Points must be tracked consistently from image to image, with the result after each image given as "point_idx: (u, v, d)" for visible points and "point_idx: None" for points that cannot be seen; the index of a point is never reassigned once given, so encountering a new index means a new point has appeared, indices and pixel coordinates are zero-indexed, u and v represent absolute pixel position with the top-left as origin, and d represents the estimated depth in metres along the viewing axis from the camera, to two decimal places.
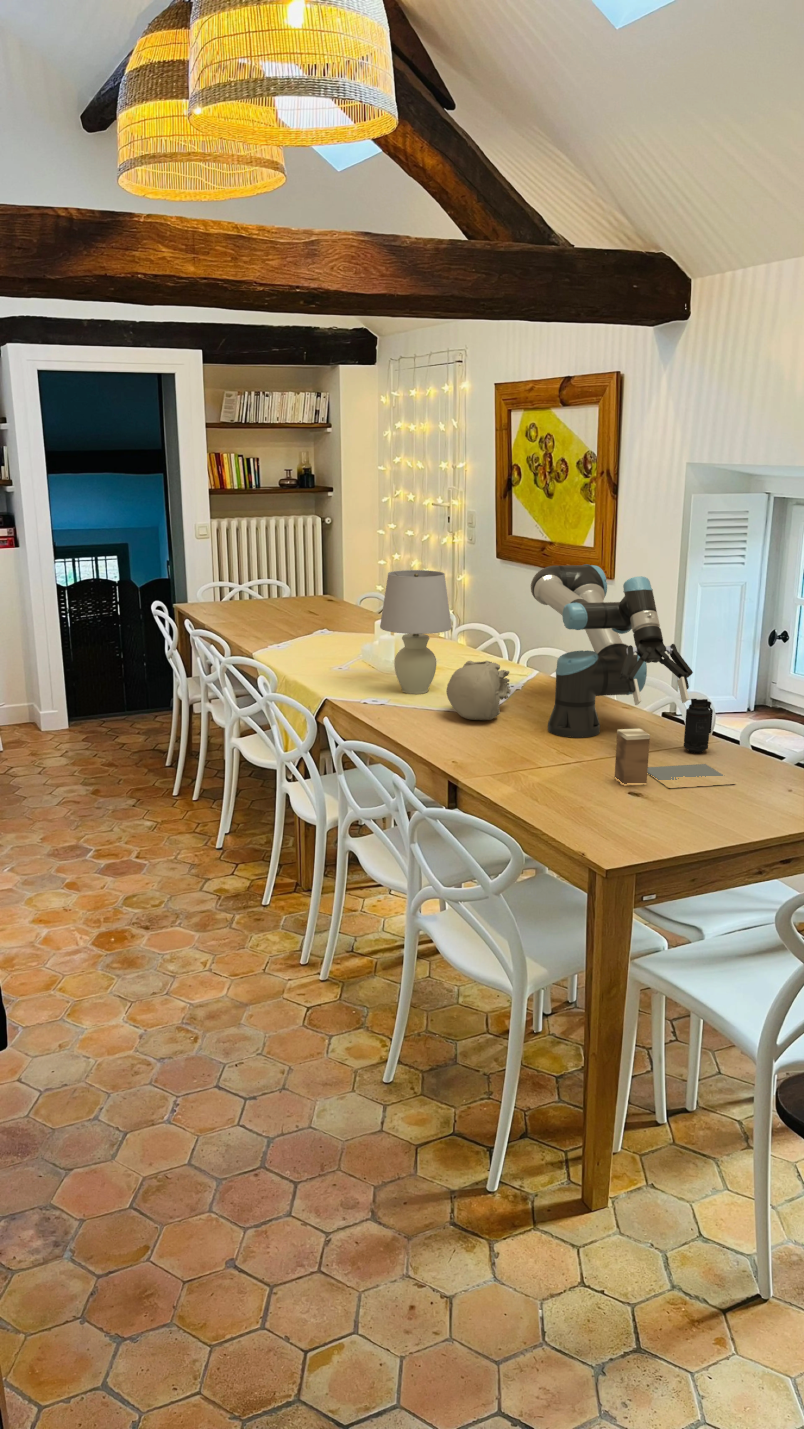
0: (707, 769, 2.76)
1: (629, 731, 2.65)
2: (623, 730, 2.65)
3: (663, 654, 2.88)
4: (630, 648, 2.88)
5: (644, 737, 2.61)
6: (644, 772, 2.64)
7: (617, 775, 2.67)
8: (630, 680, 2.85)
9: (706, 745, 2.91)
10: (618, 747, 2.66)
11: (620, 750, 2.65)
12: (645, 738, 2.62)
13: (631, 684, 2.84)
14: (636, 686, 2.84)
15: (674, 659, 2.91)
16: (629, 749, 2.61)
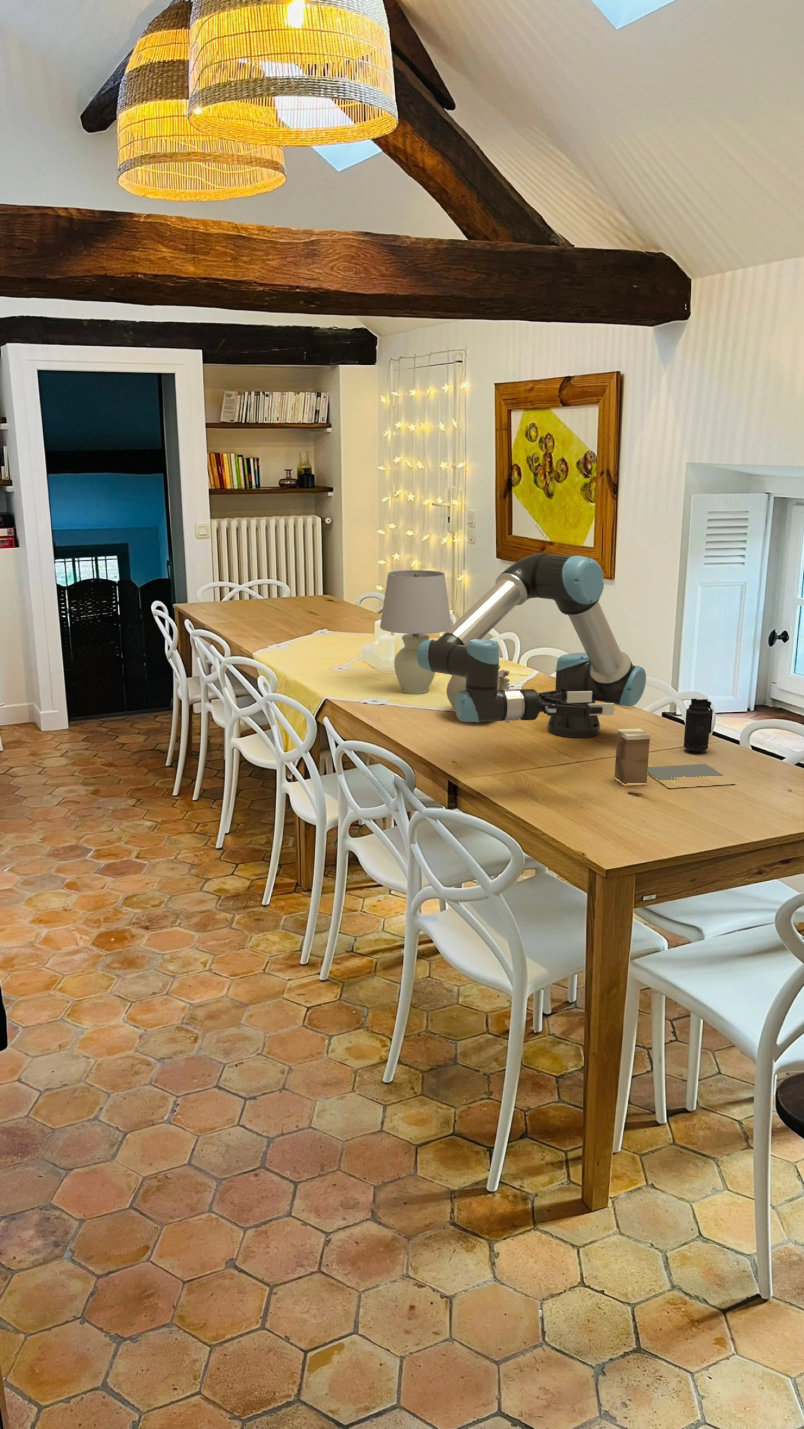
0: (707, 769, 2.76)
1: (629, 731, 2.64)
2: (623, 730, 2.65)
3: None
4: None
5: (644, 737, 2.61)
6: (644, 772, 2.64)
7: (617, 775, 2.67)
8: None
9: (706, 745, 2.91)
10: (618, 747, 2.66)
11: (620, 750, 2.65)
12: (645, 738, 2.62)
13: None
14: None
15: None
16: (629, 749, 2.61)
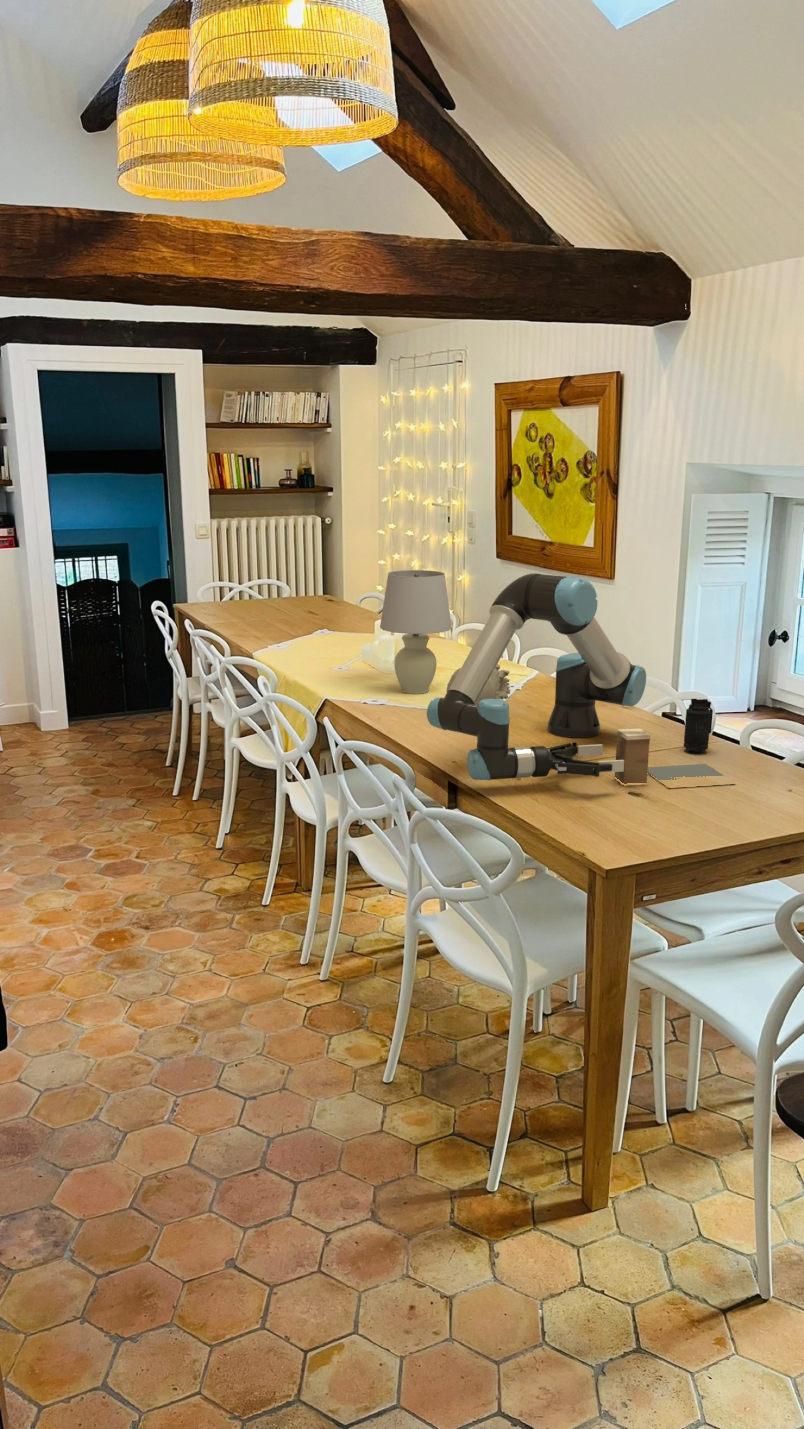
0: (707, 769, 2.76)
1: (629, 731, 2.65)
2: (623, 730, 2.65)
3: None
4: None
5: (644, 737, 2.61)
6: (644, 772, 2.64)
7: (617, 775, 2.67)
8: None
9: (706, 745, 2.91)
10: (618, 747, 2.66)
11: (620, 750, 2.65)
12: (645, 738, 2.62)
13: None
14: None
15: None
16: (629, 749, 2.61)
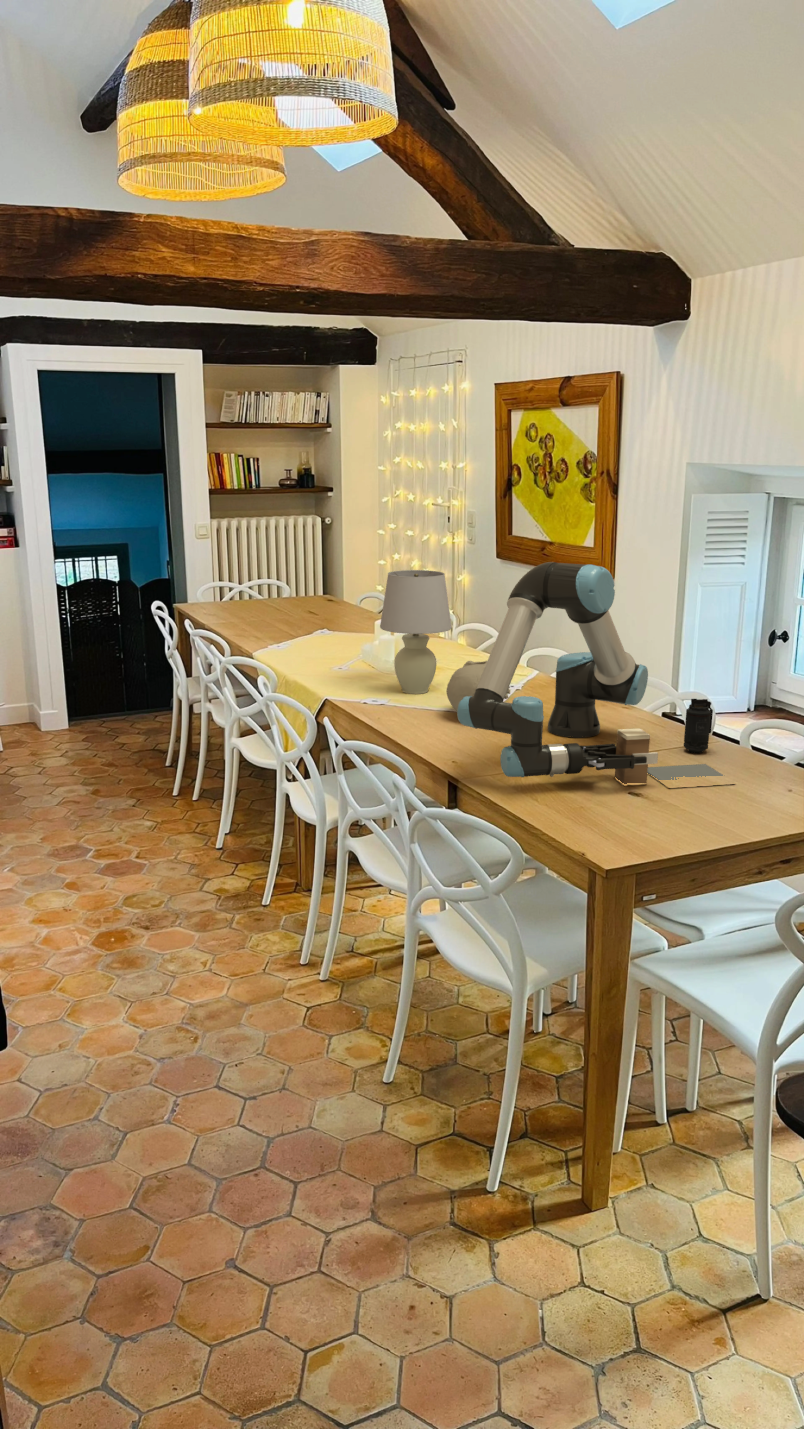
0: (707, 769, 2.76)
1: (629, 731, 2.64)
2: (623, 730, 2.65)
3: None
4: None
5: (644, 737, 2.61)
6: (644, 772, 2.64)
7: (617, 775, 2.67)
8: None
9: (706, 745, 2.91)
10: (618, 747, 2.66)
11: (620, 750, 2.65)
12: (645, 738, 2.62)
13: None
14: None
15: None
16: (629, 749, 2.61)
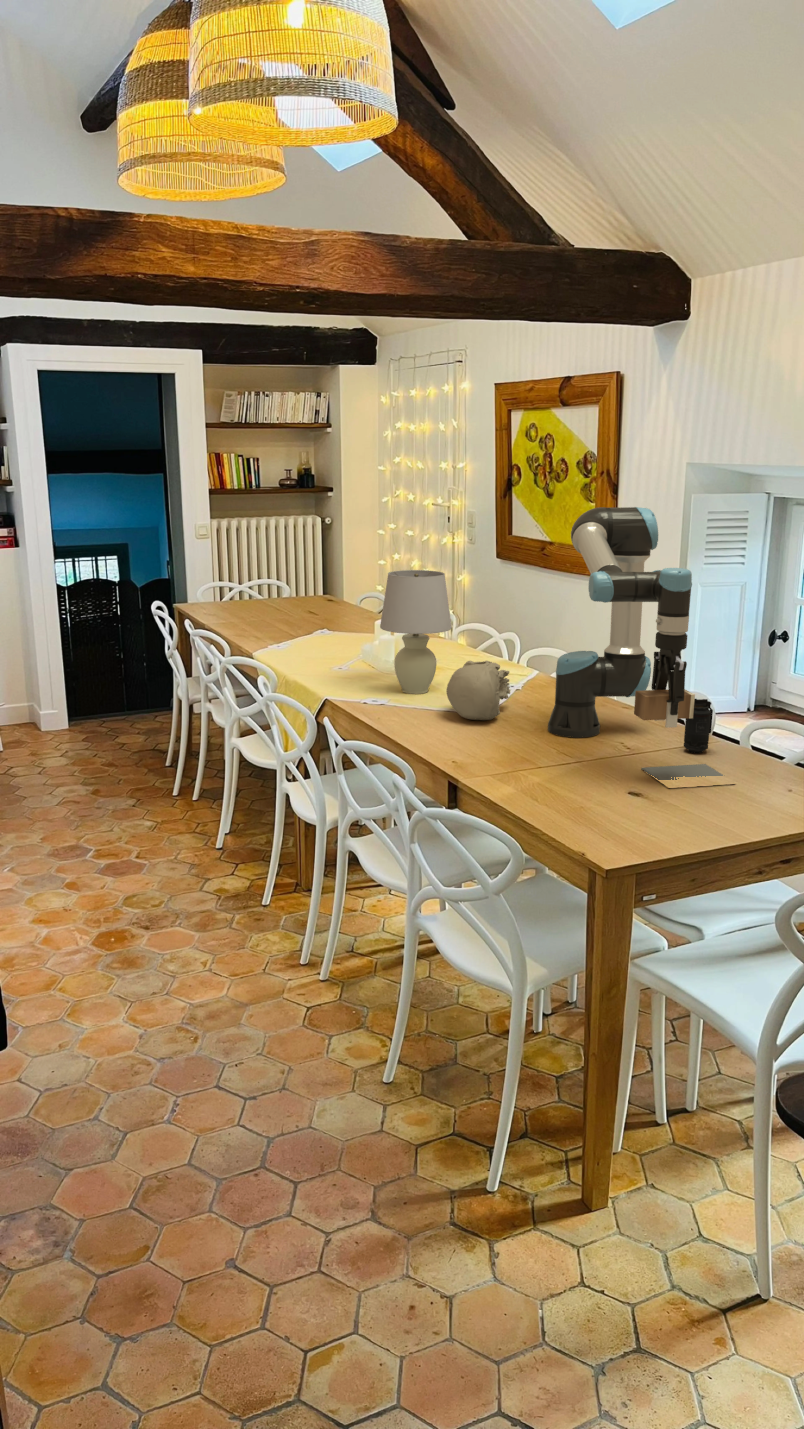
0: (707, 769, 2.76)
1: None
2: None
3: (666, 667, 2.60)
4: (654, 655, 2.68)
5: (691, 712, 2.63)
6: (656, 716, 2.62)
7: (644, 692, 2.64)
8: None
9: (706, 745, 2.91)
10: None
11: None
12: (690, 713, 2.63)
13: None
14: None
15: None
16: None
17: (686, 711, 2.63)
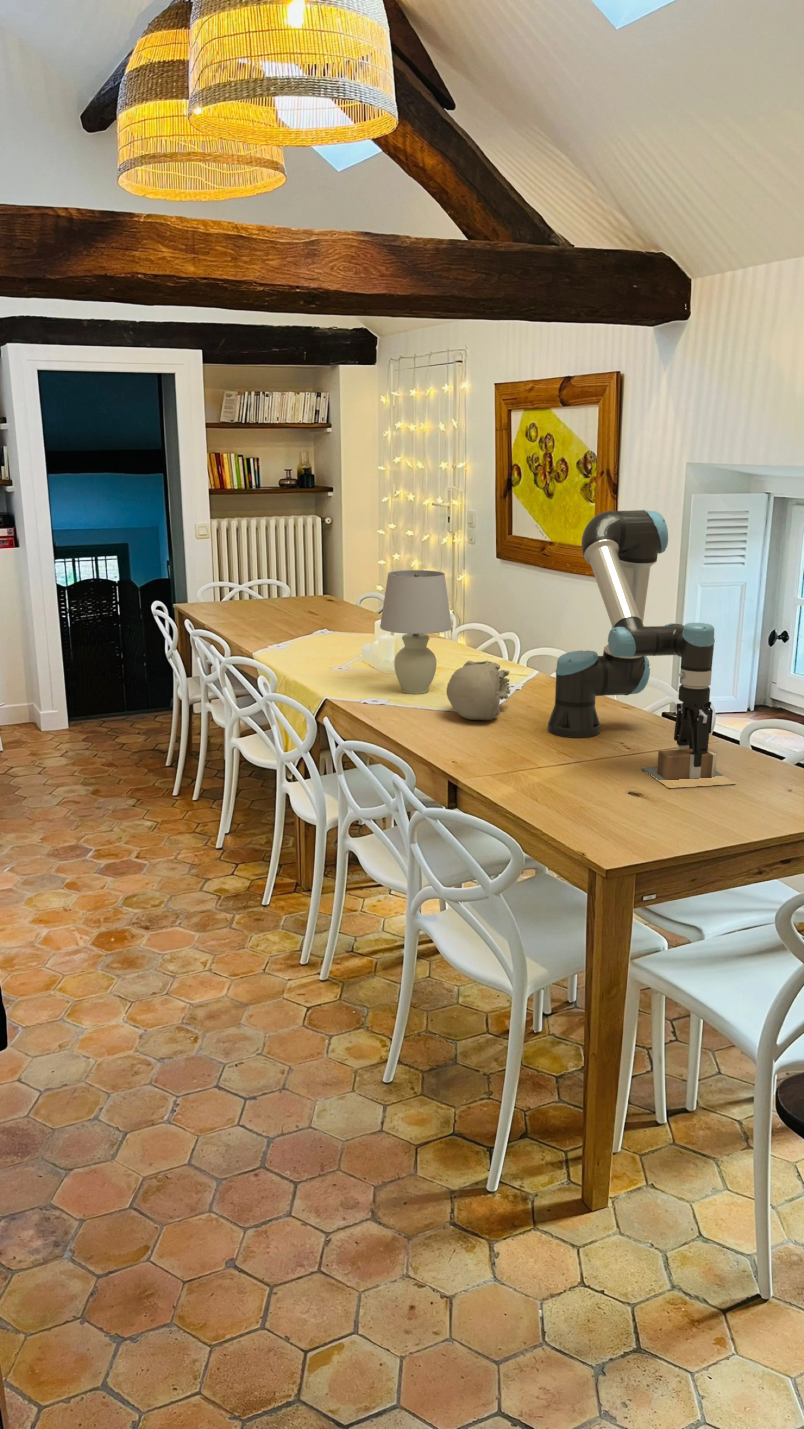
0: None
1: None
2: None
3: (689, 720, 2.65)
4: (677, 707, 2.73)
5: (713, 772, 2.69)
6: (679, 776, 2.67)
7: (667, 752, 2.69)
8: (678, 745, 2.74)
9: None
10: (692, 750, 2.71)
11: None
12: (712, 773, 2.69)
13: None
14: None
15: None
16: (704, 758, 2.67)
17: (708, 771, 2.68)
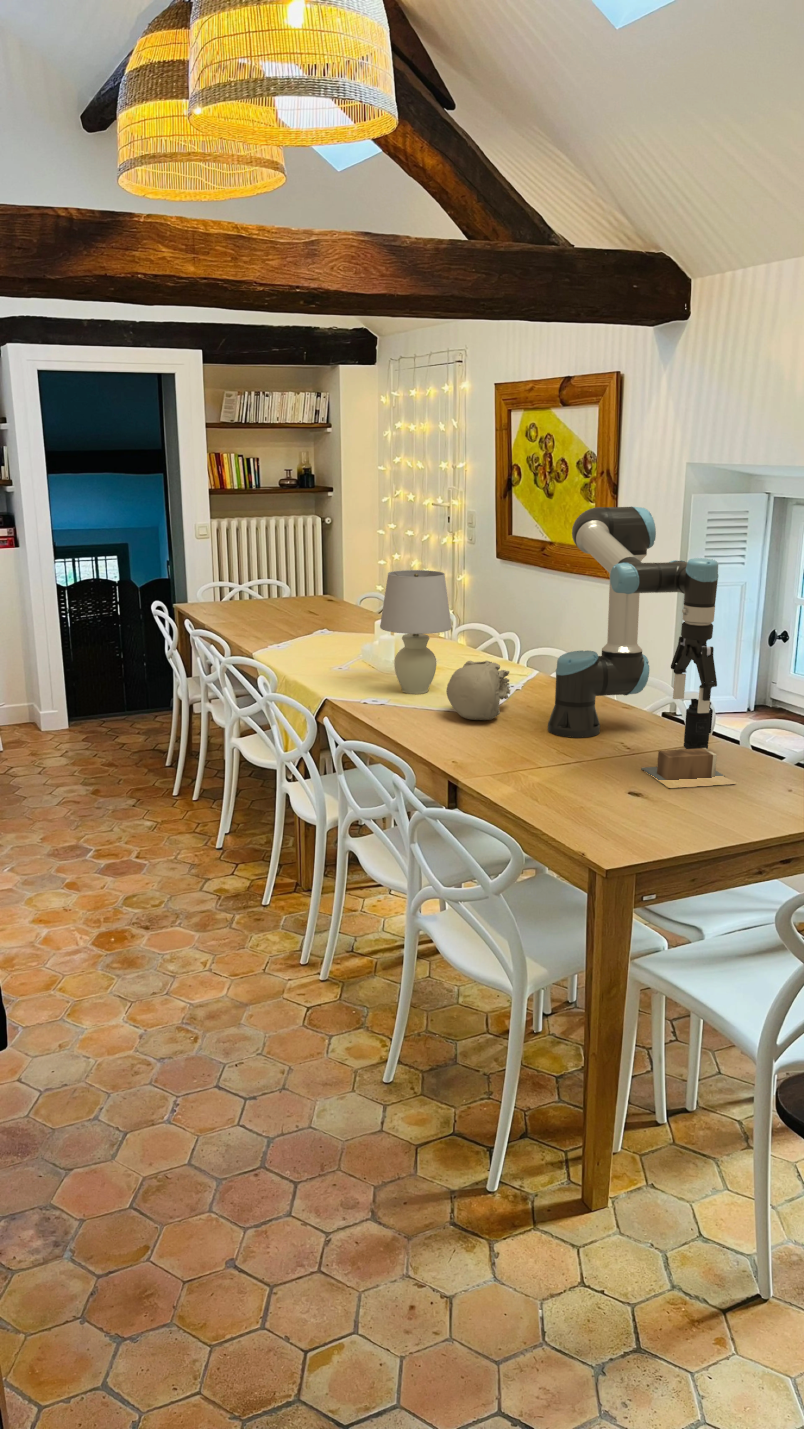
0: None
1: None
2: None
3: (693, 657, 2.62)
4: (679, 640, 2.70)
5: (713, 772, 2.69)
6: (679, 776, 2.67)
7: (667, 752, 2.69)
8: (675, 673, 2.74)
9: (706, 745, 2.91)
10: (692, 750, 2.71)
11: (693, 752, 2.70)
12: (712, 773, 2.69)
13: (675, 678, 2.74)
14: (674, 682, 2.73)
15: None
16: (704, 758, 2.67)
17: (708, 771, 2.68)
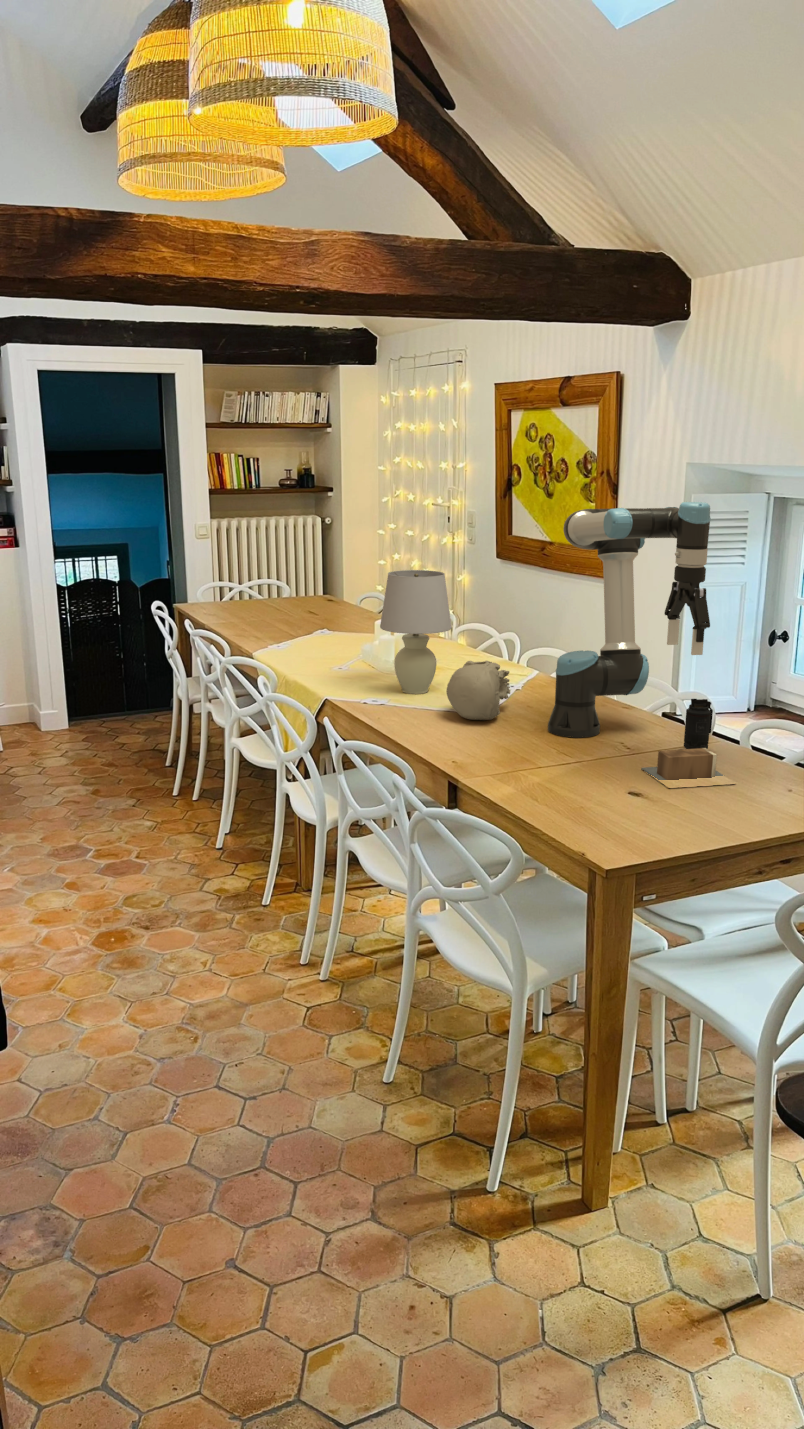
0: None
1: None
2: None
3: (686, 599, 2.64)
4: (672, 585, 2.72)
5: (713, 772, 2.69)
6: (679, 776, 2.67)
7: (667, 752, 2.69)
8: (669, 619, 2.76)
9: (706, 745, 2.91)
10: (692, 750, 2.71)
11: (693, 752, 2.70)
12: (712, 773, 2.69)
13: None
14: (668, 628, 2.75)
15: None
16: (704, 758, 2.67)
17: (708, 771, 2.68)
